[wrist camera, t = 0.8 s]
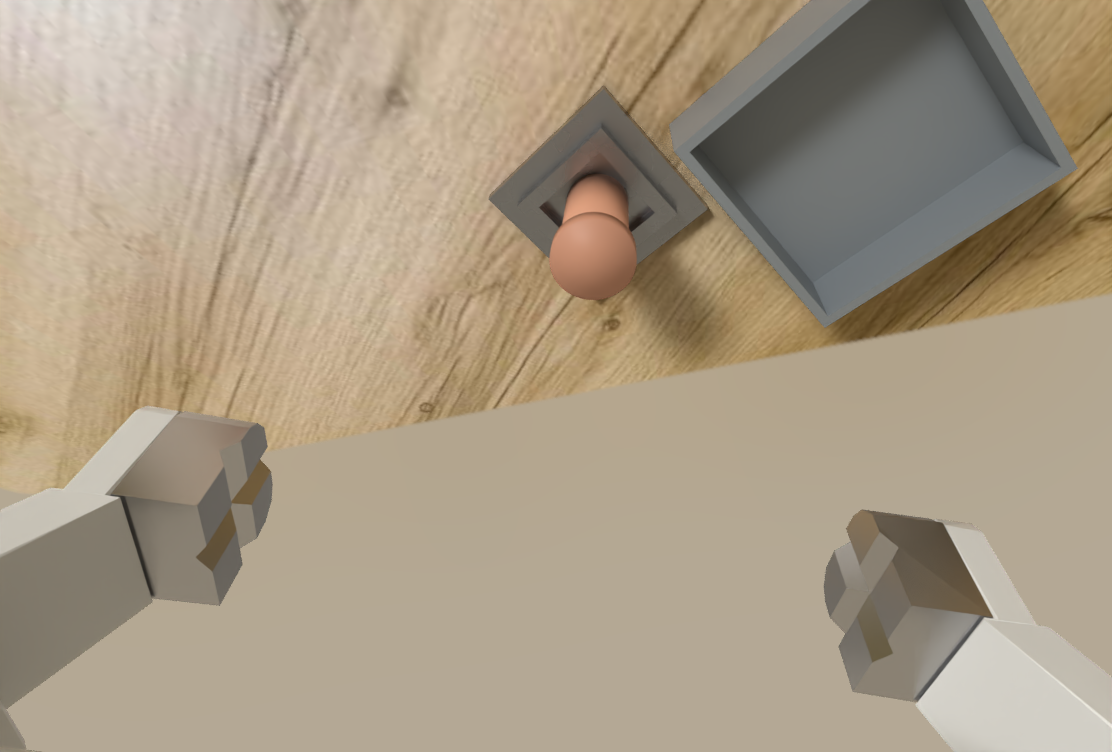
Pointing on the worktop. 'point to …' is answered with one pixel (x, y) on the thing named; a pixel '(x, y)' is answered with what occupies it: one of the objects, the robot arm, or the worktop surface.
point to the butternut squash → (594, 240)
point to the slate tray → (870, 142)
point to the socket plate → (599, 148)
